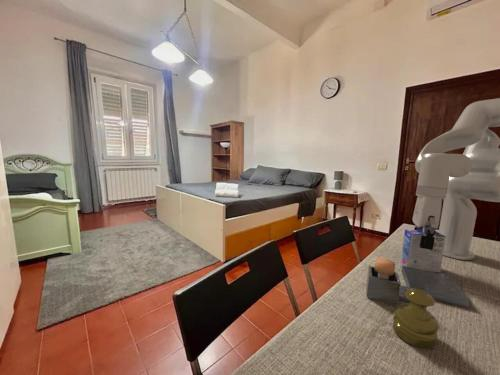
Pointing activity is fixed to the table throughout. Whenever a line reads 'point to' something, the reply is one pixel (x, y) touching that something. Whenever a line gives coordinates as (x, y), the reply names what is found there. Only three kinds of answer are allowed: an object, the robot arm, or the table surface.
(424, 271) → the frame
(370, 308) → the table surface
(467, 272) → the table surface
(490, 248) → the table surface
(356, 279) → the table surface
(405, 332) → the olive green swirled figurine
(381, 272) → the brown oval egg shape
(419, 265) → the ink cartridge box
